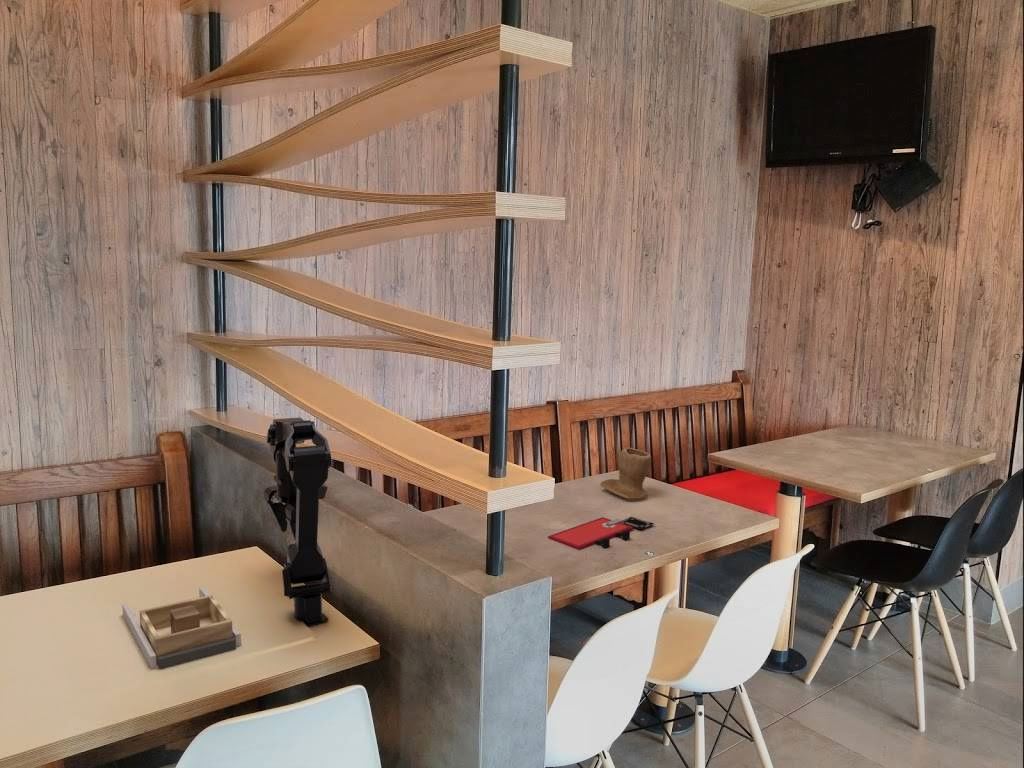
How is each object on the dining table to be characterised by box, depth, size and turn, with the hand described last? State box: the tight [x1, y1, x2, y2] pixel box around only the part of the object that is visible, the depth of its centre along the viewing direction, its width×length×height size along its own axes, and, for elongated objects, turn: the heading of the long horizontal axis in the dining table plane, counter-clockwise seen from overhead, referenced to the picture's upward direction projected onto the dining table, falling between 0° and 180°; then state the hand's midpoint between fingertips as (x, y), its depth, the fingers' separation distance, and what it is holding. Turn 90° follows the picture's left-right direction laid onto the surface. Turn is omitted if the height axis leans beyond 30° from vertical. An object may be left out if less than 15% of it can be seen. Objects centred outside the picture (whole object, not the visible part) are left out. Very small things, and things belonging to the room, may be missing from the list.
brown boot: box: [599, 447, 652, 500], centre depth 264 cm, size 15×12×15 cm
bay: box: [121, 586, 242, 670], centre depth 169 cm, size 28×18×3 cm, turn 35°
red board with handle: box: [547, 516, 655, 551], centre depth 231 cm, size 30×3×15 cm
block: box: [170, 605, 200, 634], centre depth 165 cm, size 4×4×5 cm
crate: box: [139, 594, 233, 665], centre depth 165 cm, size 14×14×5 cm
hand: (291, 537), depth 193 cm, fingers open, 9 cm apart
